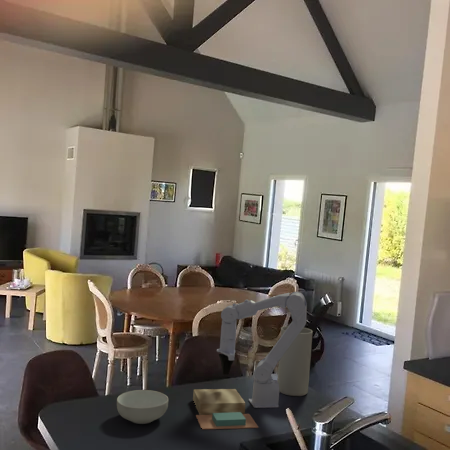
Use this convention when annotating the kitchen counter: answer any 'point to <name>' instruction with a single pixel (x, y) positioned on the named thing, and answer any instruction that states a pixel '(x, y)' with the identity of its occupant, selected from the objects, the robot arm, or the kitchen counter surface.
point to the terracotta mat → (208, 423)
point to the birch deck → (218, 401)
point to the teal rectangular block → (228, 419)
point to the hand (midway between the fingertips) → (225, 374)
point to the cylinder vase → (295, 365)
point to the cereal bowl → (142, 405)
